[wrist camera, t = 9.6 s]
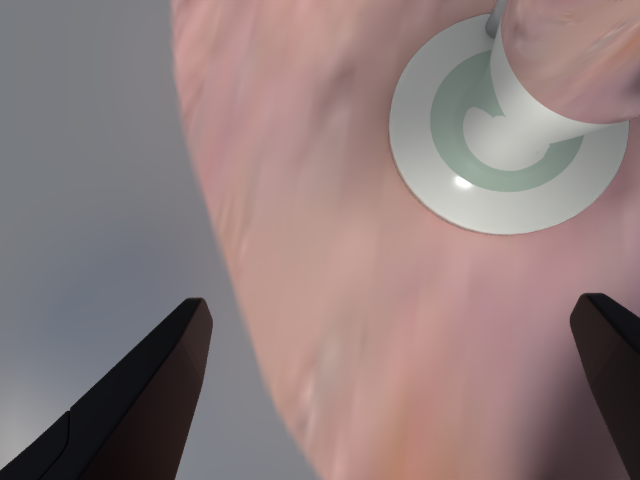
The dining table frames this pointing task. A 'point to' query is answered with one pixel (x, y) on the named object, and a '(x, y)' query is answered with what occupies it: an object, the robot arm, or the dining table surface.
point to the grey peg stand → (463, 178)
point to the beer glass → (550, 82)
